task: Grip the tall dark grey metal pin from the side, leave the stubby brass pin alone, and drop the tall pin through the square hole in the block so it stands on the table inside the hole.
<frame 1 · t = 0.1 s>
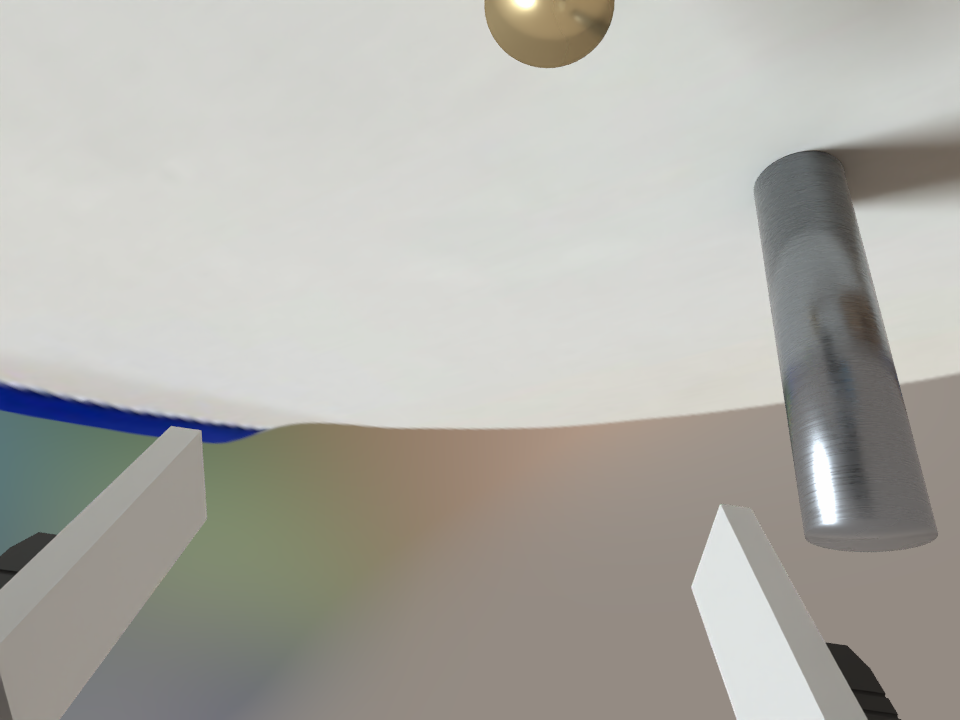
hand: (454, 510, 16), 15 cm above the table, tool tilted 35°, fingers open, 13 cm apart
long metal pin: (797, 183, 24), on the table
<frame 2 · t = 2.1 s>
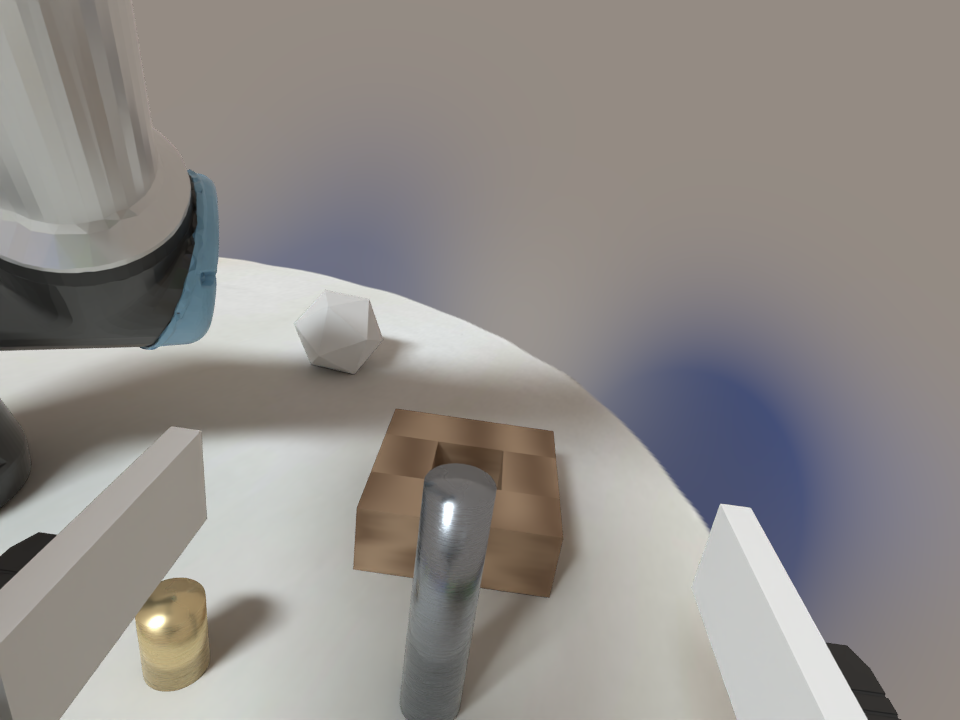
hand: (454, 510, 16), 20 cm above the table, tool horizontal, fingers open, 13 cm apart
die: (338, 365, 68), on the table
long metal pin: (430, 700, 33), on the table
hole block: (460, 519, 46), on the table
short brass pin: (177, 664, 33), on the table
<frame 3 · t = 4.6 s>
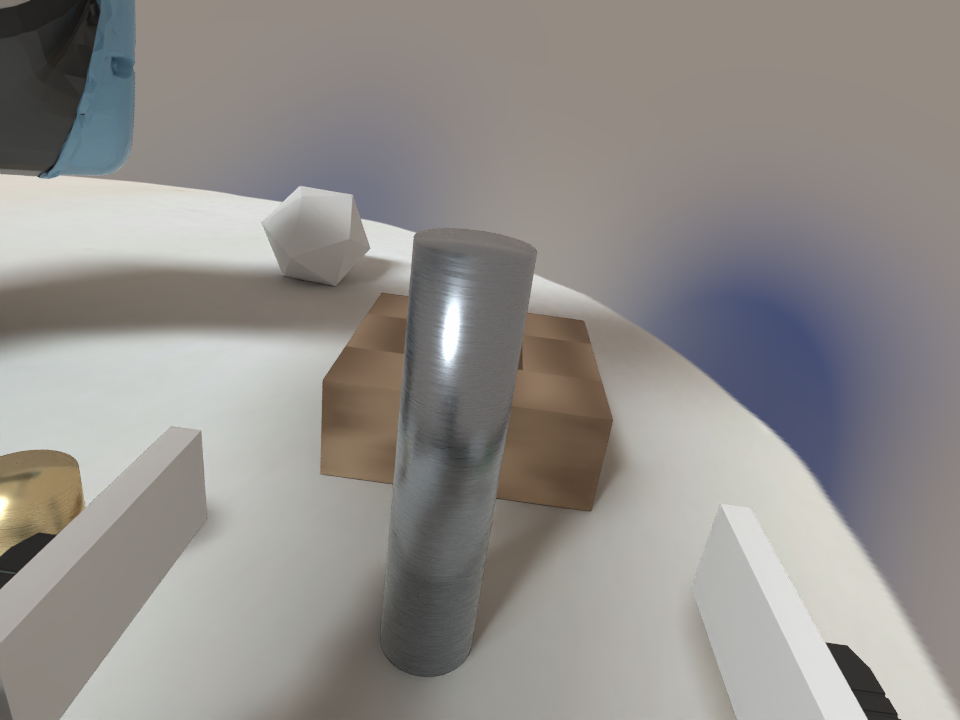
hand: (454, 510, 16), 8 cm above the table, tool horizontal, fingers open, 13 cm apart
die: (316, 279, 57), on the table
long metal pin: (426, 636, 22), on the table
hole block: (466, 425, 35), on the table
short brass pin: (42, 583, 22), on the table
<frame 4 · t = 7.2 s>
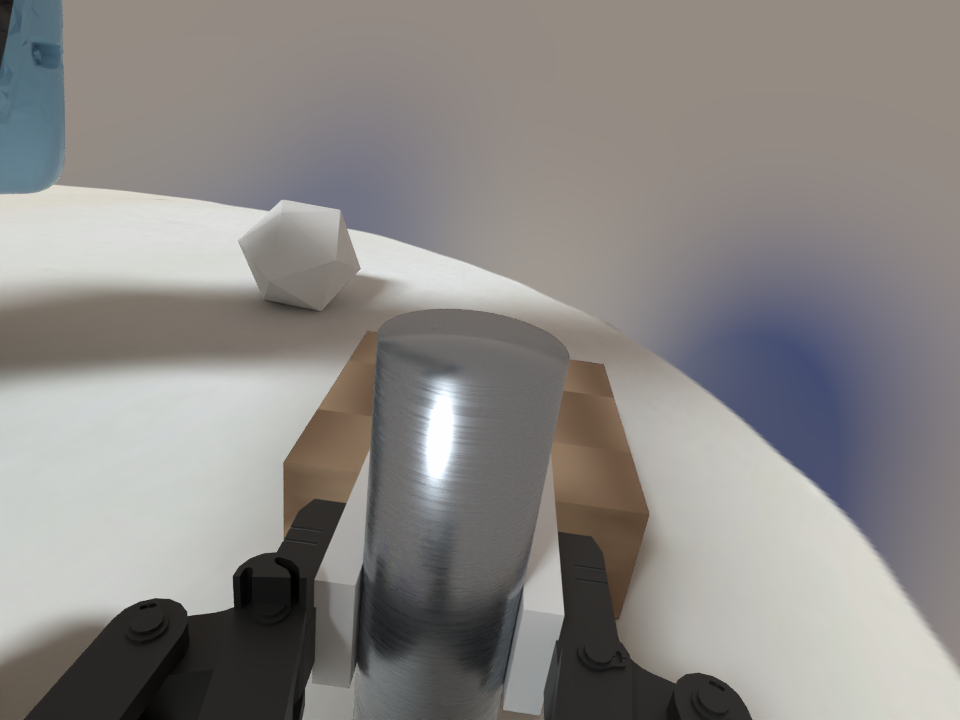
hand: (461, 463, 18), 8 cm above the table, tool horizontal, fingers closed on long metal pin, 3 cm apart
die: (301, 302, 51), on the table
hole block: (465, 494, 30), on the table
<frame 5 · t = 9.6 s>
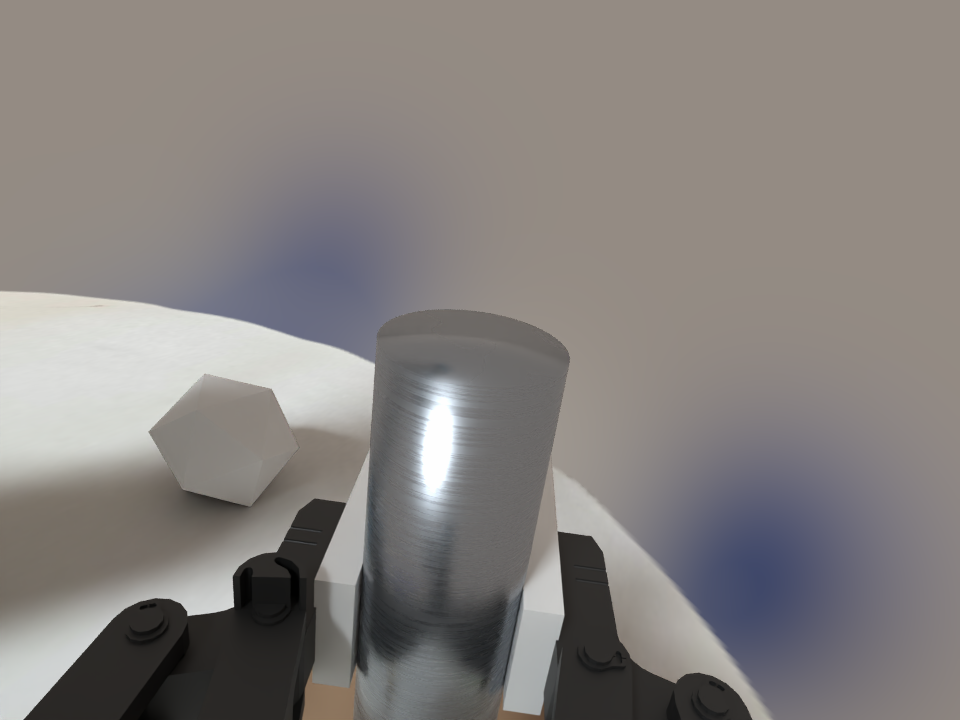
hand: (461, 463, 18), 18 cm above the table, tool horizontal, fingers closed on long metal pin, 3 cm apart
die: (229, 488, 44), on the table
when the fingers open (11 cm above the table, at t = 12.5 s): long metal pin drops 3 cm, resting in hole block.
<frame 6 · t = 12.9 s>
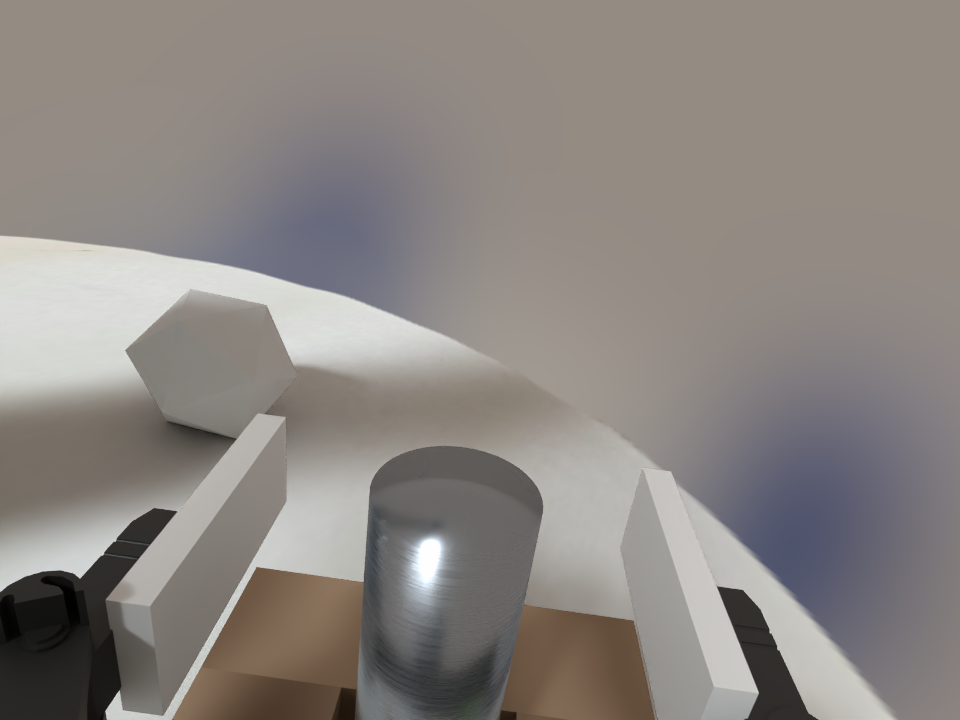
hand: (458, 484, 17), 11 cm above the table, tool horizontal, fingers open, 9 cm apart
die: (218, 422, 39), on the table
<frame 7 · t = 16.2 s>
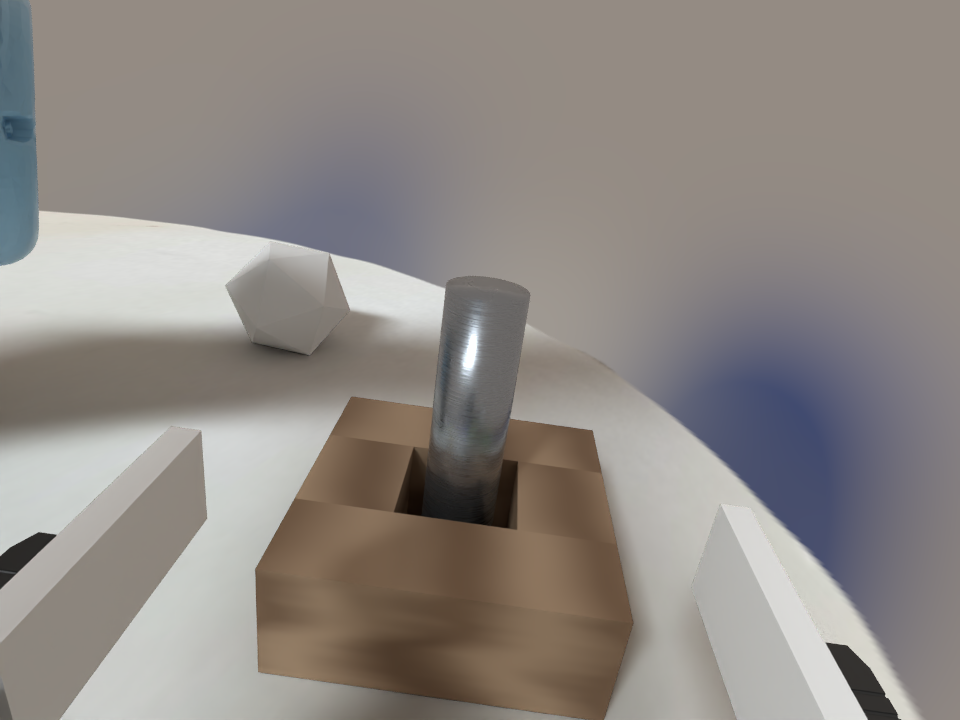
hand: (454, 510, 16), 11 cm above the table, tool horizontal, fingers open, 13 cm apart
die: (289, 344, 50), on the table
long metal pin: (449, 573, 29), resting in hole block
hole block: (449, 572, 29), on the table
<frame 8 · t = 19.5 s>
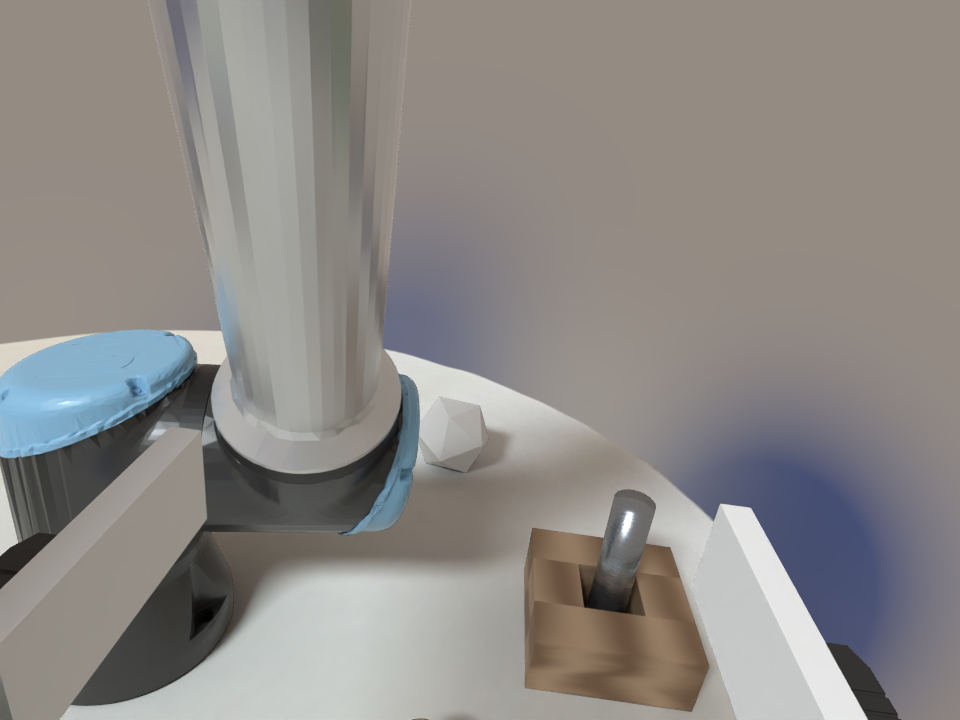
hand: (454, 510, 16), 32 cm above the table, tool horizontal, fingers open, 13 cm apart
die: (449, 462, 75), on the table
long metal pin: (598, 632, 54), resting in hole block
hole block: (598, 632, 54), on the table
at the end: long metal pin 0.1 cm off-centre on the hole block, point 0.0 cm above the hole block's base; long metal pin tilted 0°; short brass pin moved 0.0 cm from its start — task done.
